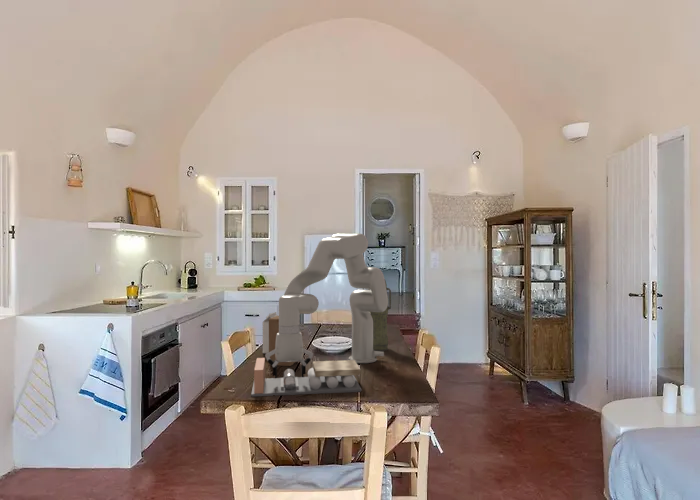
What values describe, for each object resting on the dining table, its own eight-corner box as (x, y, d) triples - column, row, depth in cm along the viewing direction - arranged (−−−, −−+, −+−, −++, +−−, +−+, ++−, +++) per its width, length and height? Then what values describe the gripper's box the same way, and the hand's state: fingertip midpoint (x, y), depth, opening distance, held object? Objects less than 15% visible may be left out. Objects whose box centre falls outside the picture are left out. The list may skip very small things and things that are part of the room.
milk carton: (282, 351, 233) (282, 312, 233) (275, 354, 226) (275, 314, 226) (269, 350, 235) (269, 311, 235) (262, 353, 228) (262, 313, 228)
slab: (354, 365, 185) (354, 360, 185) (360, 374, 171) (360, 369, 171) (312, 366, 182) (312, 361, 182) (315, 376, 168) (315, 371, 168)
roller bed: (353, 377, 187) (353, 354, 187) (361, 391, 168) (361, 366, 168) (254, 381, 182) (254, 357, 182) (251, 396, 163) (251, 370, 163)
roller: (294, 379, 181) (294, 368, 181) (295, 390, 168) (295, 378, 168) (283, 379, 181) (283, 368, 181) (283, 390, 167) (284, 378, 167)
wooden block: (290, 366, 204) (290, 319, 203) (268, 365, 206) (268, 318, 205) (297, 361, 213) (297, 316, 213) (276, 360, 215) (276, 315, 215)
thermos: (367, 347, 243) (367, 277, 242) (390, 347, 242) (390, 278, 242) (366, 350, 234) (366, 279, 234) (391, 351, 233) (391, 279, 233)
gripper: (312, 327, 179) (312, 373, 179) (265, 328, 176) (265, 375, 177) (313, 331, 171) (313, 378, 172) (264, 332, 169) (264, 380, 169)
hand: (289, 376), depth 174 cm, fingers open, 9 cm apart
